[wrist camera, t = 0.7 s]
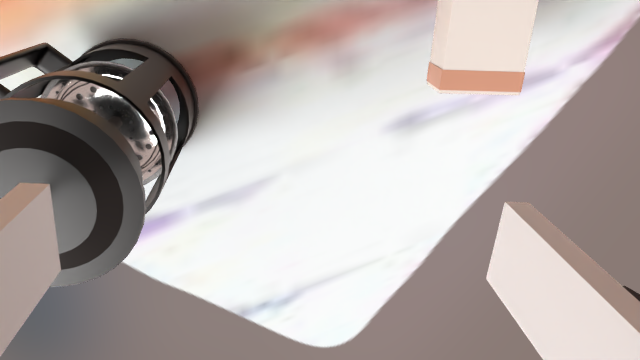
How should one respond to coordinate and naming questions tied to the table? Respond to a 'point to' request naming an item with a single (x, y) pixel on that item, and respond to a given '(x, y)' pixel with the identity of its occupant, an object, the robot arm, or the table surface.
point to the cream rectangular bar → (481, 46)
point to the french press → (94, 144)
